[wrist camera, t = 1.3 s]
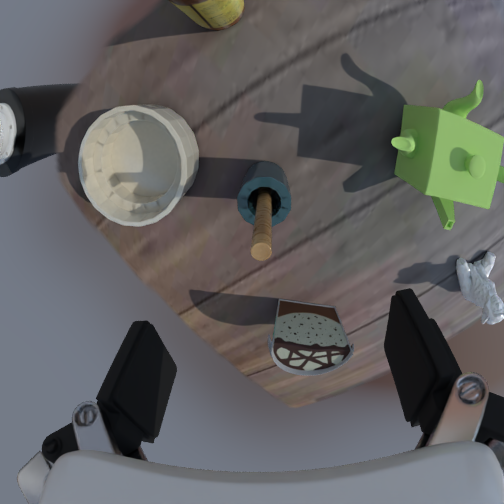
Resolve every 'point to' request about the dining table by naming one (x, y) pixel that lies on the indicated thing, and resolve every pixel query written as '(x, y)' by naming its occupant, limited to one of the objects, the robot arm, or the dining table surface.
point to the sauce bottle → (212, 12)
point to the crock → (264, 177)
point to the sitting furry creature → (480, 287)
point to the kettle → (449, 155)
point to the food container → (308, 338)
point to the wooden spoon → (262, 226)
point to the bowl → (138, 163)
